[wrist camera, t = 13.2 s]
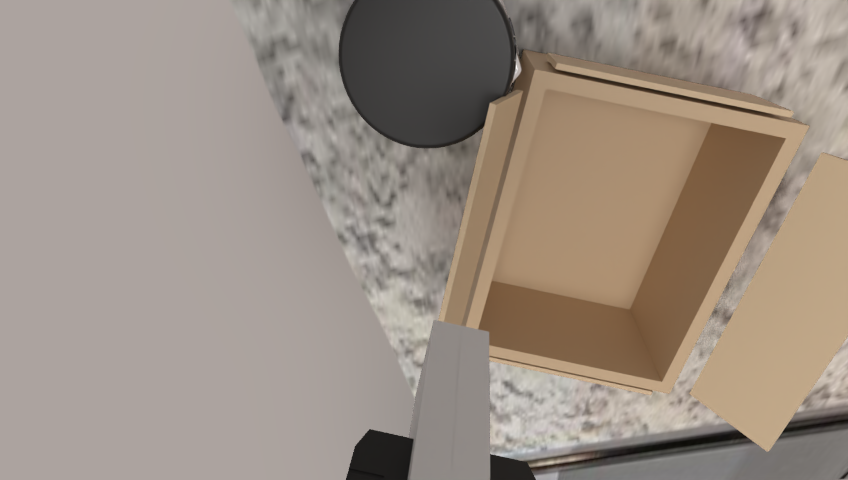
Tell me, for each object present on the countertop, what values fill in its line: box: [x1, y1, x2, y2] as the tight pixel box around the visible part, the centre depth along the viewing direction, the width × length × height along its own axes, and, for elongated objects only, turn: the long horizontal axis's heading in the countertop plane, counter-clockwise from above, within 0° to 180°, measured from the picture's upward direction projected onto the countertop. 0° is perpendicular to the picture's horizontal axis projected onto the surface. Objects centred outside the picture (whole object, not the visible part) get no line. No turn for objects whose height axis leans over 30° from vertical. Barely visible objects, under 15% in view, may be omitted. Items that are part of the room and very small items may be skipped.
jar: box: [339, 0, 522, 148], centre depth 29 cm, size 9×8×12 cm
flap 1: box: [438, 90, 523, 326], centre depth 28 cm, size 16×5×1 cm
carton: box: [461, 49, 810, 395], centre depth 34 cm, size 19×14×9 cm
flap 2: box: [690, 153, 848, 452], centre depth 28 cm, size 16×5×1 cm
